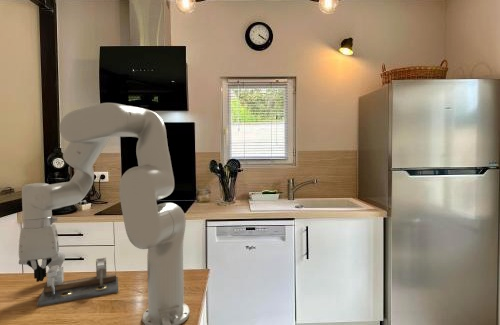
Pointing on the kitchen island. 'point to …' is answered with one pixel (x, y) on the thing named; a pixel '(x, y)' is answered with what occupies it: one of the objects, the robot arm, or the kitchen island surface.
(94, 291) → the bolt plate
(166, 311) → the robot arm
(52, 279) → the sliding leg
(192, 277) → the kitchen island surface
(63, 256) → the lightbulb
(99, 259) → the frame
